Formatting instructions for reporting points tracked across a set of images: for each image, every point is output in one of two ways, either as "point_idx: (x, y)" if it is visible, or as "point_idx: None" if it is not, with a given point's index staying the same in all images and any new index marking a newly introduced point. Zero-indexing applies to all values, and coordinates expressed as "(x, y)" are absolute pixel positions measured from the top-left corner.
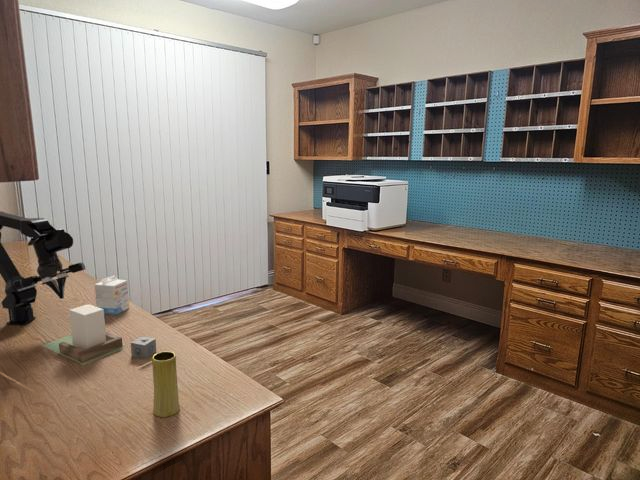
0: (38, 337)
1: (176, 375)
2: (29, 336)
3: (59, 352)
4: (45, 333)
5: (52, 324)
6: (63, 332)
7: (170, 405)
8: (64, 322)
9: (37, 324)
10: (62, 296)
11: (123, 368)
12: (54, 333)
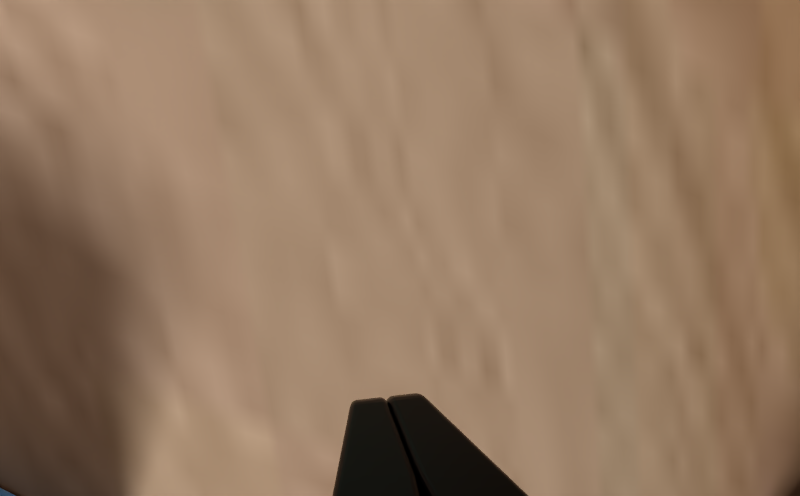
0: (691, 8)
1: None
2: (792, 87)
3: None
4: (615, 123)
5: (553, 387)
6: (407, 78)
7: None
8: None
9: (706, 438)
10: (360, 425)
11: None
12: (511, 83)
